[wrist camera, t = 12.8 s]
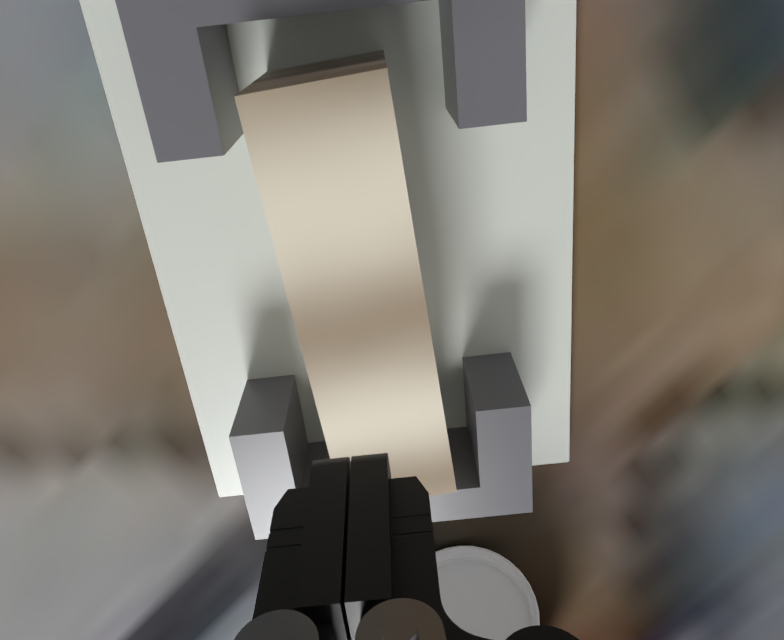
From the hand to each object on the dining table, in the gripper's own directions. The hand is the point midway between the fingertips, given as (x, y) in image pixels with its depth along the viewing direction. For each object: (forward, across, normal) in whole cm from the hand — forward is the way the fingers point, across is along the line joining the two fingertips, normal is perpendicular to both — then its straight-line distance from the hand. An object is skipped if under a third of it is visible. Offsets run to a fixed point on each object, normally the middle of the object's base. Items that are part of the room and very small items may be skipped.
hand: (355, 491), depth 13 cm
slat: (+14, 0, 0) cm, 14 cm away
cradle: (+14, 0, 0) cm, 14 cm away
